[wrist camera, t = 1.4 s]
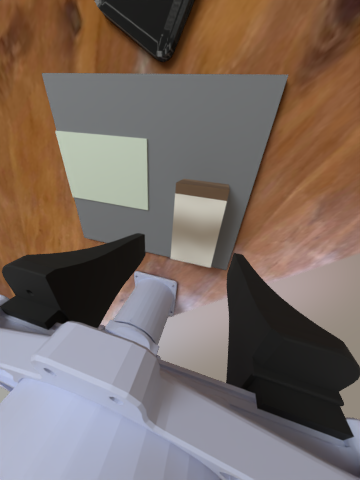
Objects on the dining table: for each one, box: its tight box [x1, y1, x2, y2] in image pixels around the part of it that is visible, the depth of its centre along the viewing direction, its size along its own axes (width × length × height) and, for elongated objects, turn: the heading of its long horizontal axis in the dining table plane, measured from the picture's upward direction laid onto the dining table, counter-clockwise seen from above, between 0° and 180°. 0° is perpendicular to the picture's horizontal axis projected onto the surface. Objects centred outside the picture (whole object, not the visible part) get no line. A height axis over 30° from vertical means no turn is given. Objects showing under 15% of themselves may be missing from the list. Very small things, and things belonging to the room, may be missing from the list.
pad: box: [55, 131, 148, 210], centre depth 19 cm, size 12×8×1 cm, turn 85°
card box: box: [170, 179, 230, 268], centre depth 17 cm, size 9×5×4 cm, turn 175°
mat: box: [42, 73, 288, 270], centre depth 19 cm, size 20×24×1 cm
